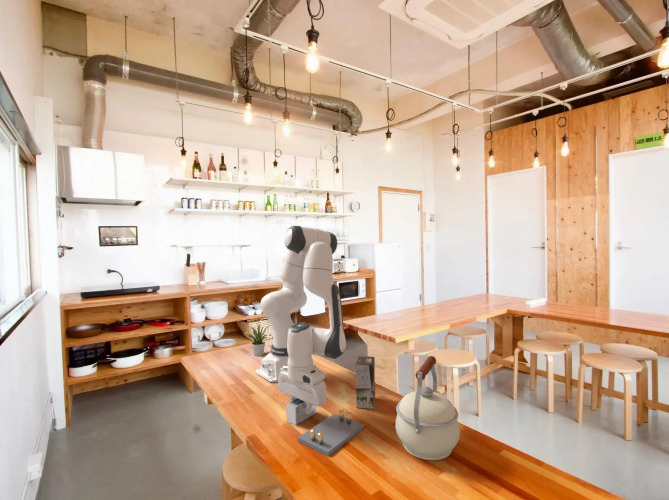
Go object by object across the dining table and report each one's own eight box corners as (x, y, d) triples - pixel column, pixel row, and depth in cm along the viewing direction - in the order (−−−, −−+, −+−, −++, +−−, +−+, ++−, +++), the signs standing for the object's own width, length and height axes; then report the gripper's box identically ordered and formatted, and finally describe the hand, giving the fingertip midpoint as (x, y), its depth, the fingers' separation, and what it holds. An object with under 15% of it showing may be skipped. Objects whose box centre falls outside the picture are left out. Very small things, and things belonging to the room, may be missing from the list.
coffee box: (373, 409, 126) (372, 365, 125) (355, 407, 127) (355, 364, 126) (375, 397, 135) (375, 356, 134) (359, 396, 136) (358, 355, 135)
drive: (286, 420, 119) (286, 403, 118) (306, 409, 127) (306, 392, 126) (295, 425, 116) (295, 407, 116) (316, 412, 124) (315, 396, 123)
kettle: (452, 478, 89) (451, 383, 88) (384, 457, 98) (383, 370, 97) (467, 430, 111) (466, 353, 110) (410, 416, 120) (409, 345, 119)
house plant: (266, 347, 198) (265, 319, 197) (278, 353, 187) (277, 323, 186) (242, 353, 189) (241, 323, 188) (253, 360, 178) (252, 328, 177)
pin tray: (298, 441, 107) (297, 427, 107) (334, 416, 121) (334, 404, 121) (328, 456, 99) (327, 441, 99) (363, 428, 113) (363, 415, 113)
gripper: (273, 367, 125) (274, 405, 125) (316, 381, 112) (317, 423, 112) (286, 361, 129) (287, 398, 130) (328, 375, 117) (329, 415, 117)
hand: (301, 410), depth 121 cm, fingers closed on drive, 4 cm apart
